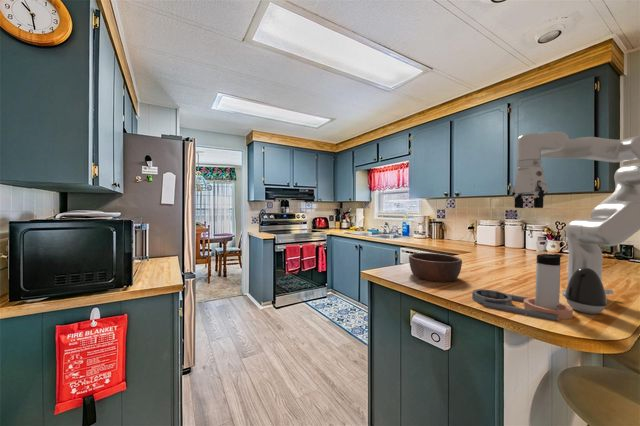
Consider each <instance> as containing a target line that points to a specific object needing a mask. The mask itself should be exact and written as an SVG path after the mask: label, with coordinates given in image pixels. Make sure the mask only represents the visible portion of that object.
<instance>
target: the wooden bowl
mask: <svg viewBox="0 0 640 426" xmlns="http://www.w3.org/2000/svg"><path fill="white" fill-rule="evenodd" d="M408 263H409V267H410V271H411V273H412V275H413V276H414V277H416V278H418V279H421V280H423V281H424V280H425V281H429V282H438V283H449V282H453V281H456V280H457V278H458V277H459V275H460V273H461V269H462V266H463V265H462V264H463V260H462V258H460V257H457V256H454V255H451V254H450V255H449V254H442V253H432V252H421V253H420V252H419V253H418V252H417V253H411V254H409V256H408Z"/></svg>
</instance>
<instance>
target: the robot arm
mask: <svg viewBox="0 0 640 426" xmlns="http://www.w3.org/2000/svg"><path fill="white" fill-rule="evenodd" d="M516 154H517V155H516V157H517V160H516V161H517V163H516V173H515V179H514V180H515V181H514V186H513V187H512V188H510V191H511V195H512V197H513V199H514V208H515V209H523V208H524V198H523V197H524V195H527V194H528V195H529V194H531V195H532V194H533V196H534V197H533V208H534V209H543V208H544V198H545V197H546V194H548V190H549V187H550V185H549V184H547V183H546V178H545V177H546V176H545V172H544V167H542V158H547V159H572V160H573V159H575V160H576V159H581V160H582V159H583V160H593V161H599V162H606V163H607V162H608V163H621V162H628V161H634V160H637V161H638V162H635V163H631V164H630V163H629V164H626V165H622V166H621V167H619V168H617V170H616V171H615V173H614V175H613V176H614V177H613V179H614V185H615V187H614V188H615V190H614V192H613V193H611V194H610V195H609V196H608V197H606V198H605V199H604V200H603V201H601V202H600V203H598V205H596V206H595V207H594V208H593V209H592V211H591V212H590V218H577V219H575V220H574V219H573V220H572V221H570V222H568V224H567V225H566V227H565V233H566V238H567V239H566V240H567V246H568V247H567V248H568V261H567V262H568V264H567V284H568V283H569V280H570V278H571V276H572V275H573V273H574V272H575V271H576V270H577V269H579V268H590V269H592V270H594V271H595V272H596V273H597V274H598V276H599V277H600V279H601V281H602V279H603V252H602V250H601V248H600V246H605V247H614V246H618V245H620V244H622V243H624V242H625V241H627V240H628V239H630V238H631V237H633V236H634V235H635V234H636V233H637V232H639V231H640V135H636V136H631V137H627V138H623V139H613V138H604V137H596V136H584V137H583V136H582V137H577V138H571V139H570V138H569V136H568V134H567V133H565V132H562V131H551V132H542V133H538V132H531V133H525V134H522V135H520V136H518V138H517V153H516ZM602 282H603V281H602ZM604 290H605V293H606V295H614V291H613V290H612V289H610V288H609V289H605V288H604ZM565 292H566V289H564V290H562V291H561V294H562V295H563V296H565Z"/></svg>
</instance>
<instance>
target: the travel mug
mask: <svg viewBox="0 0 640 426" xmlns="http://www.w3.org/2000/svg"><path fill="white" fill-rule="evenodd" d="M561 258H562V254H559V253H554V254H553V253H542V254H541V253H540V254H536V266H535V291H534V293H535V295H534V298H535V306H539V307H543V308H547V309H553V310H559V302H560V291H561V289H560V286H561Z"/></svg>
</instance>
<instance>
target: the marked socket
mask: <svg viewBox="0 0 640 426" xmlns="http://www.w3.org/2000/svg"><path fill="white" fill-rule="evenodd" d="M523 309H529V310H534V311H539V312H544V313H550V314H555V315H557V316H558V320H569V319H572V318H573V315H574V314H573V313H574V312H573V311H574V309H573V308H572V307H571V306H570V305H567V304H564V303H562V302H560V301H559V310H553V309H547V308H543V307H539V306H535V297H528V298H526V299H524V302H523Z"/></svg>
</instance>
